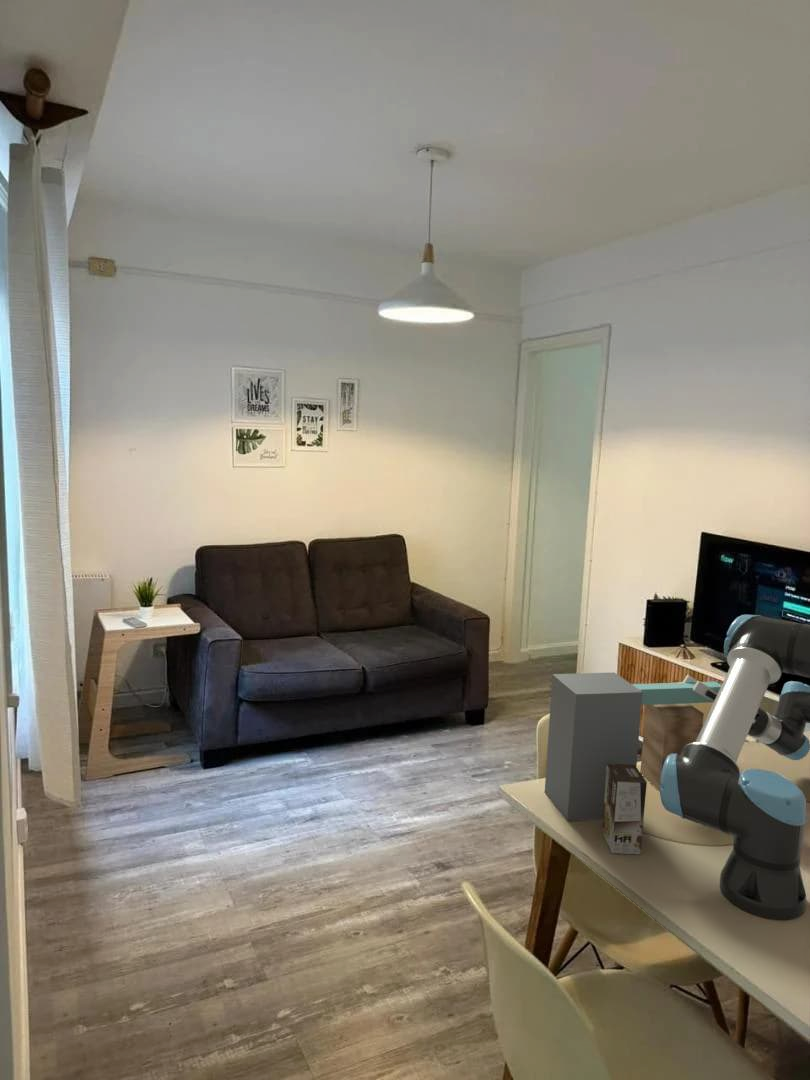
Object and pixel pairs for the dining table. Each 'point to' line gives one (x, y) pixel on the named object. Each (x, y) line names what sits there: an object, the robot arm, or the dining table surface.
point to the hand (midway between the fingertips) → (690, 682)
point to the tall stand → (589, 739)
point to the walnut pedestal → (667, 735)
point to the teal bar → (673, 693)
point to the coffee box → (624, 808)
